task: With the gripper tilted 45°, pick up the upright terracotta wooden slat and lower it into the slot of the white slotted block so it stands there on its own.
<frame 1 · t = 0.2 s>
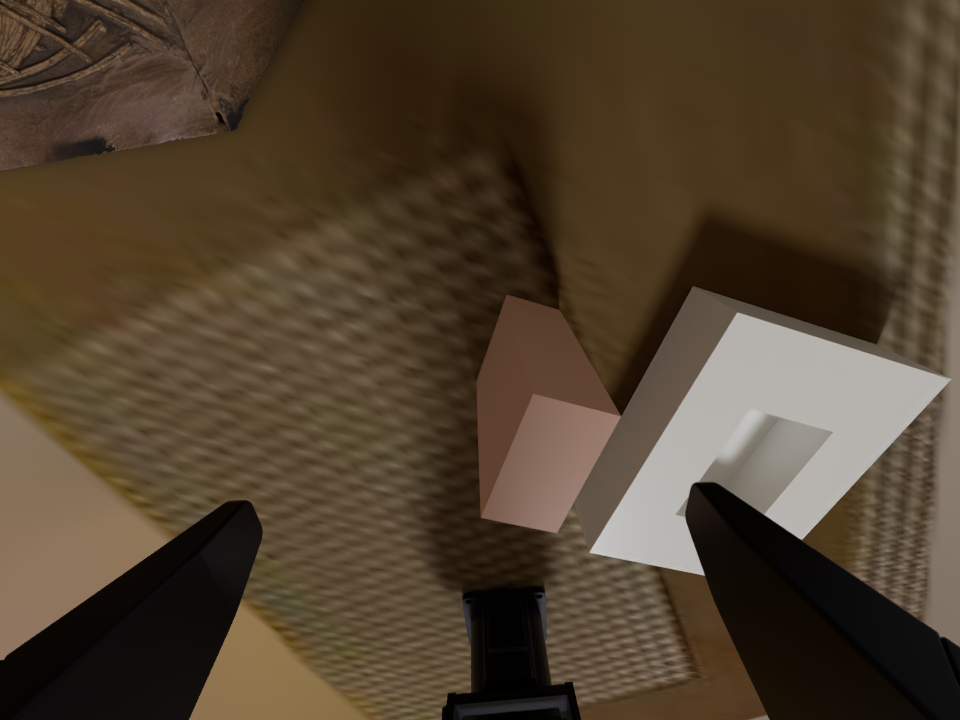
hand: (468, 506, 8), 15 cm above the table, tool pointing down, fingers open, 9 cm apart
white slotted block: (711, 431, 26), on the table
slat: (516, 347, 23), on the table
wooden fragment: (100, 17, 17), on the table
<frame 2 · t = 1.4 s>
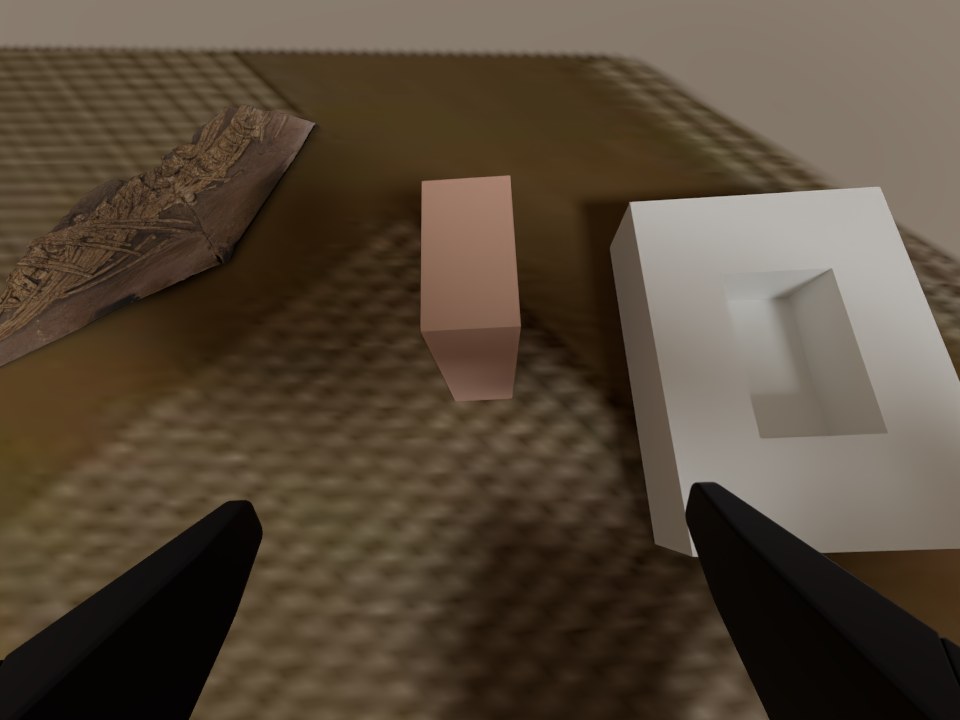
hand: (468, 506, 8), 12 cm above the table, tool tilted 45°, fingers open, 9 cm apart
white slotted block: (745, 373, 21), on the table
slat: (481, 350, 23), on the table
wooden fragment: (155, 240, 27), on the table
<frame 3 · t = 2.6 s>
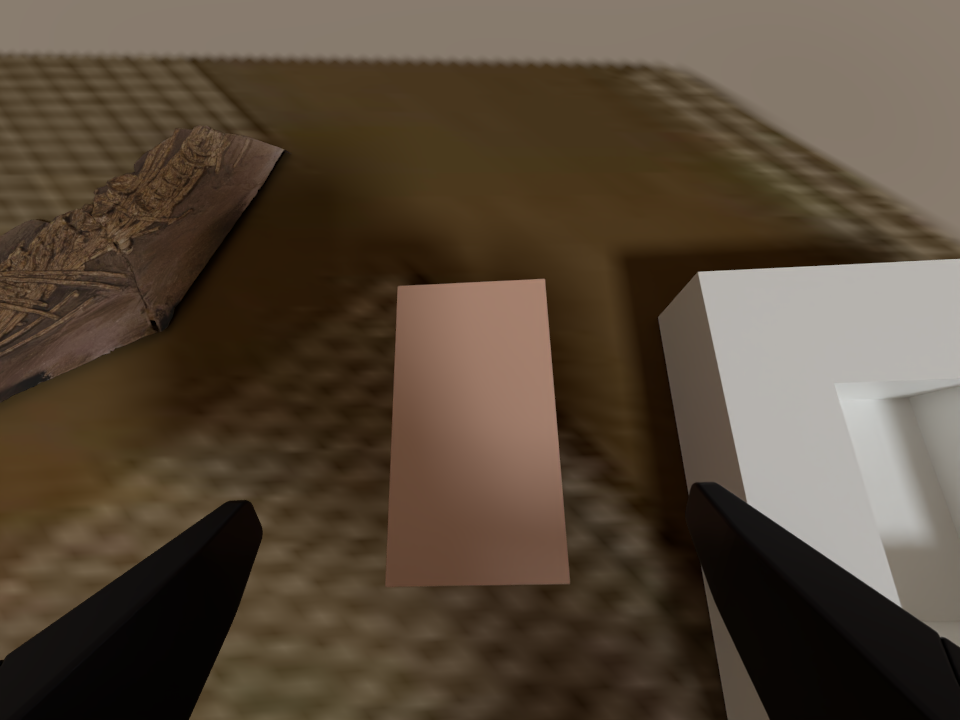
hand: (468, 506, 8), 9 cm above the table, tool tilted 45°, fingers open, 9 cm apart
white slotted block: (850, 501, 16), on the table
slat: (490, 459, 17), on the table
wooden fragment: (81, 296, 21), on the table
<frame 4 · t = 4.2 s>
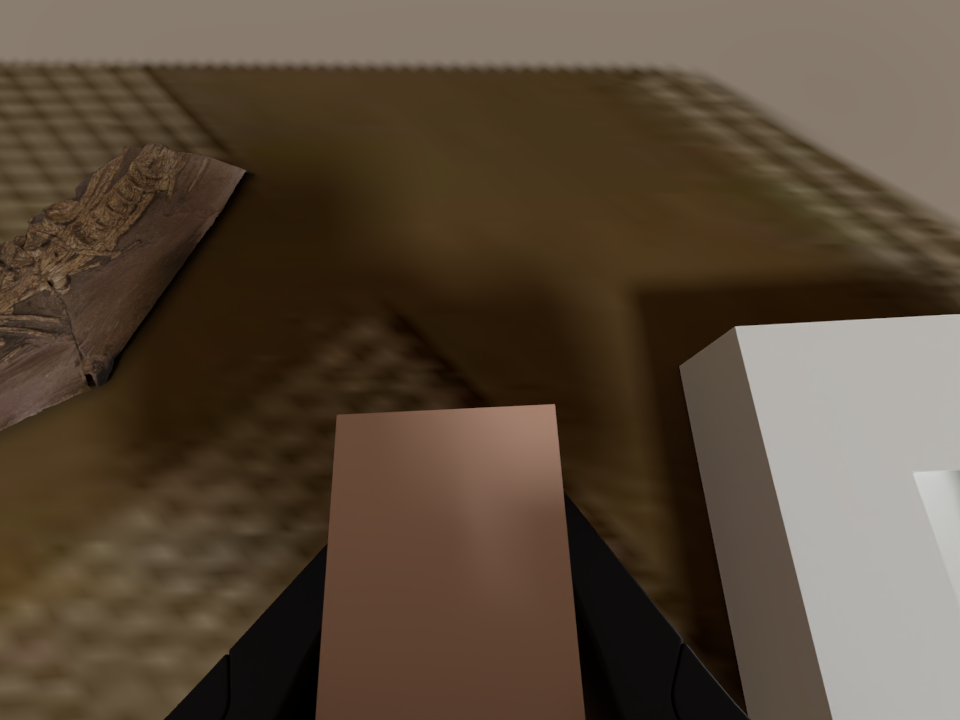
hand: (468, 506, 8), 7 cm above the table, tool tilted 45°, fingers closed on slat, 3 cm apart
white slotted block: (917, 596, 13), on the table
slat: (484, 542, 14), on the table, touching gripper
wooden fragment: (11, 343, 18), on the table
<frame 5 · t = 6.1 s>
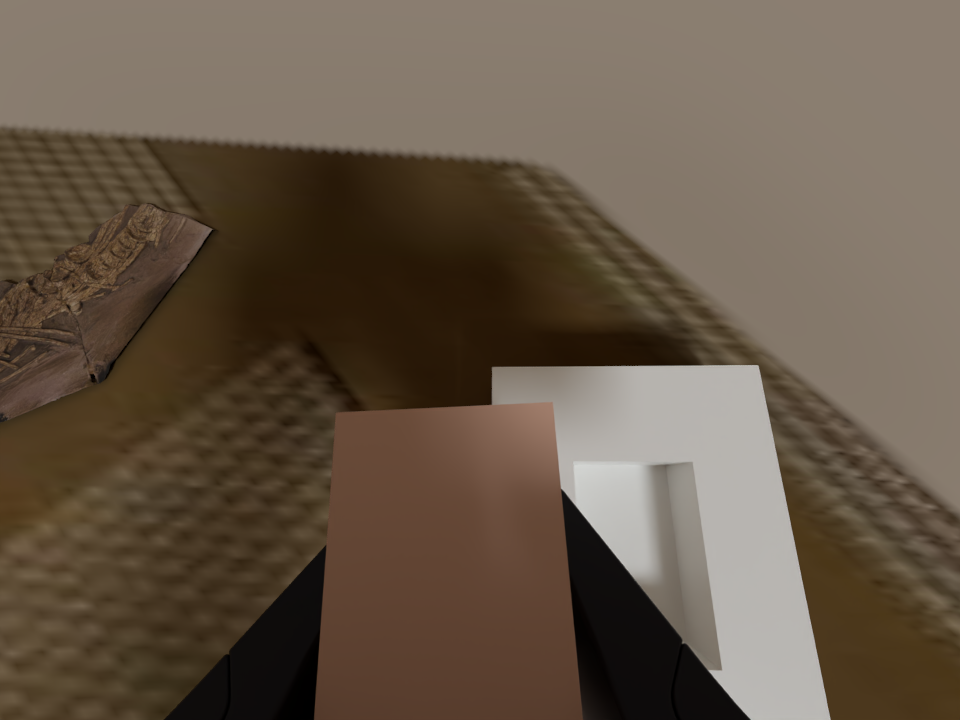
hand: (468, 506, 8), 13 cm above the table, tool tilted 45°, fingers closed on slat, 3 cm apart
white slotted block: (615, 544, 20), on the table
slat: (483, 542, 14), point 7 cm above the table, touching gripper
wooden fragment: (39, 347, 26), on the table
when the fingers open (9 cm above the table, at t = 8.0 s): slat stays where it is, resting on white slotted block.
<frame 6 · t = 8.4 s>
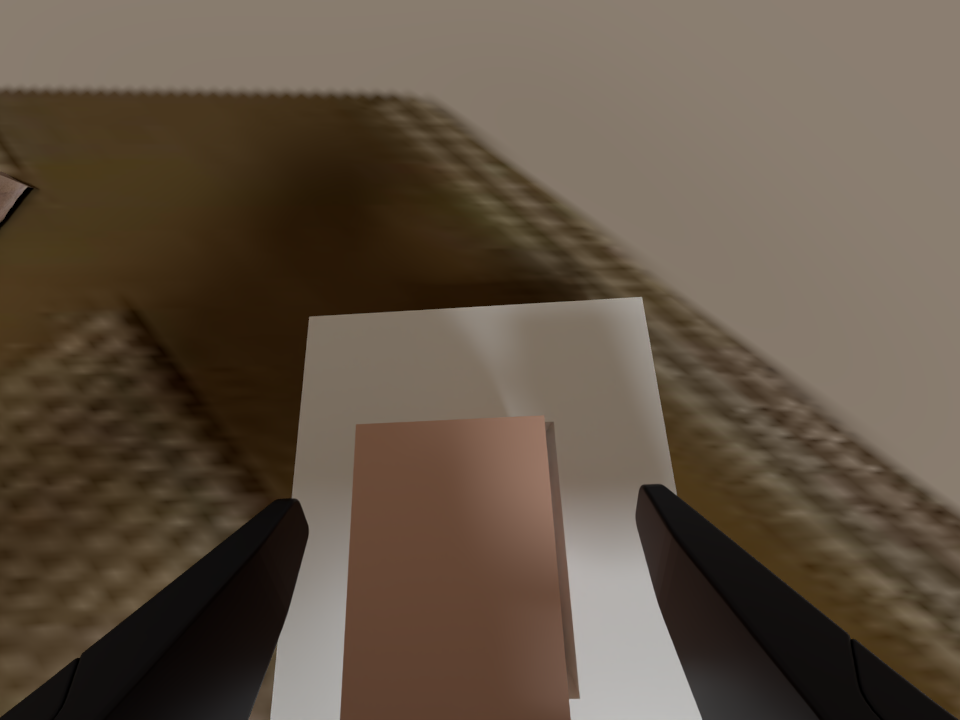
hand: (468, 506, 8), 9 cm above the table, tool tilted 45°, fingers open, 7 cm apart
white slotted block: (486, 536, 16), on the table
slat: (484, 538, 15), point 1 cm above the table, touching white slotted block
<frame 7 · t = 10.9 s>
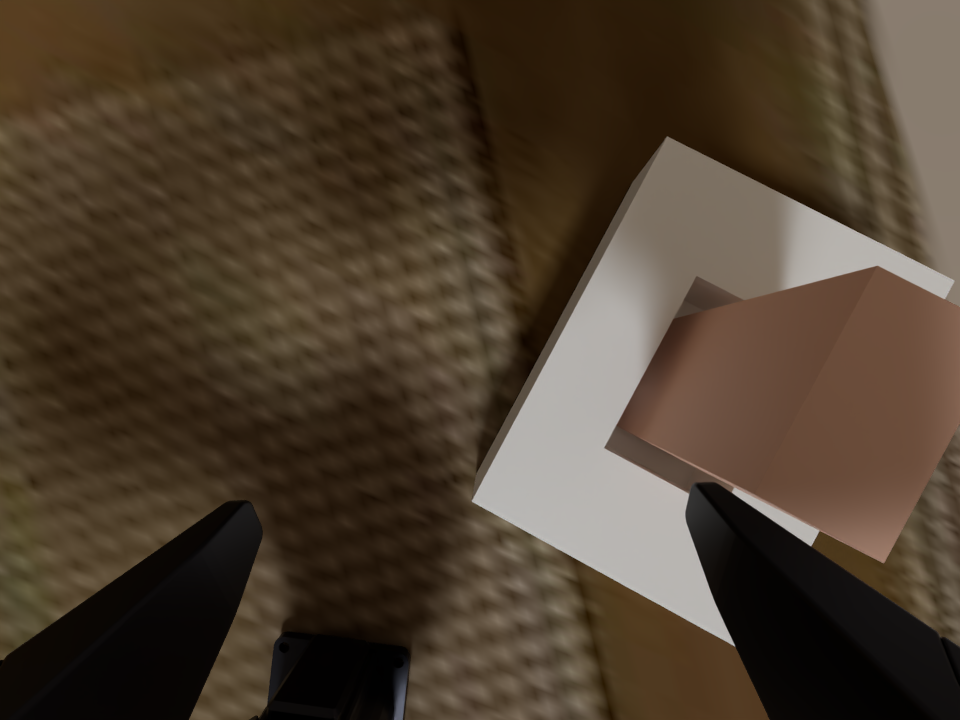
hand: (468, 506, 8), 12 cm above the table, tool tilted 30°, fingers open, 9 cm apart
white slotted block: (665, 387, 20), on the table
slat: (673, 387, 19), point 1 cm above the table, touching white slotted block
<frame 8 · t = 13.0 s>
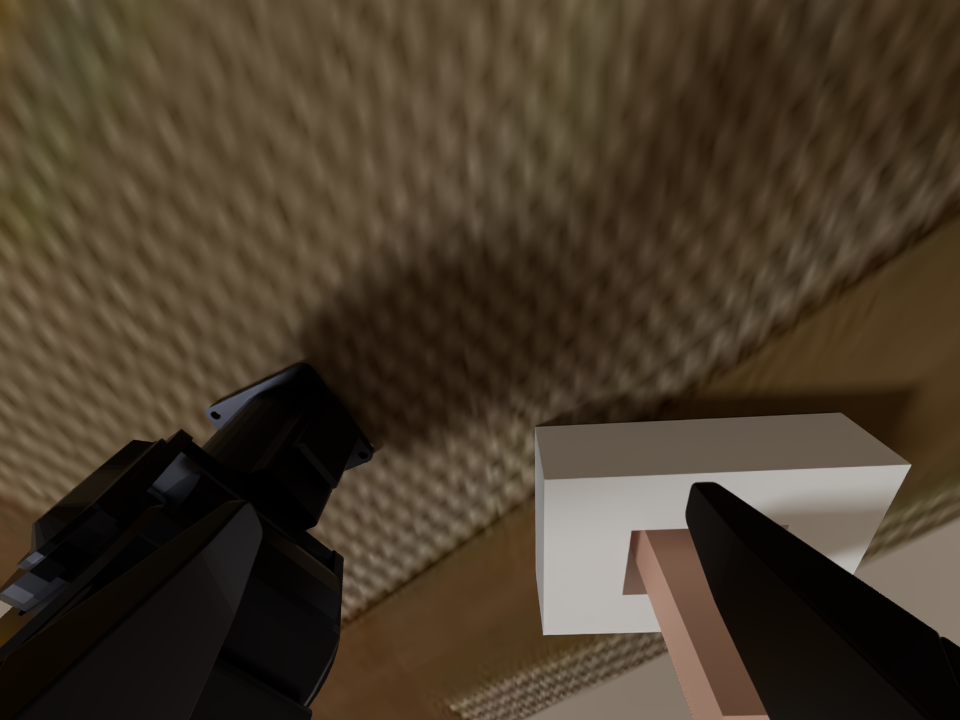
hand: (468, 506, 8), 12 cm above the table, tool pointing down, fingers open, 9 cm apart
white slotted block: (669, 502, 25), on the table
slat: (676, 515, 24), point 1 cm above the table, touching white slotted block
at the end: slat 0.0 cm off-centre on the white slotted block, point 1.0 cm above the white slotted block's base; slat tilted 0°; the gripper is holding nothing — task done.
